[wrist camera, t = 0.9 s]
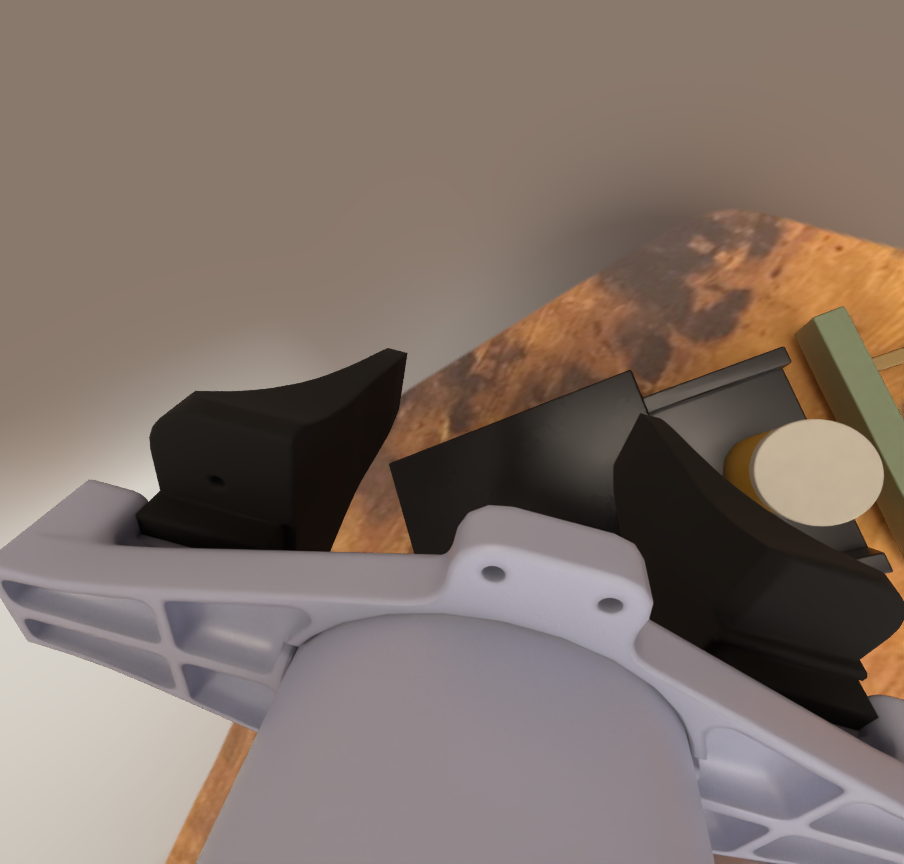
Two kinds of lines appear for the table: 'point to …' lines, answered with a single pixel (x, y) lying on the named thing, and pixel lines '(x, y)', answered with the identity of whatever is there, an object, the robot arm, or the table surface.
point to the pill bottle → (808, 471)
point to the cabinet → (524, 465)
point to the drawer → (800, 415)
